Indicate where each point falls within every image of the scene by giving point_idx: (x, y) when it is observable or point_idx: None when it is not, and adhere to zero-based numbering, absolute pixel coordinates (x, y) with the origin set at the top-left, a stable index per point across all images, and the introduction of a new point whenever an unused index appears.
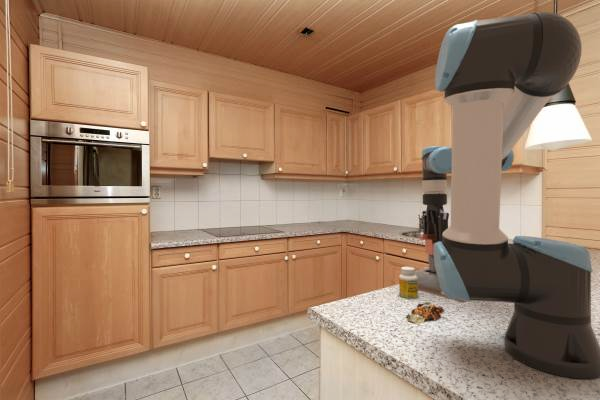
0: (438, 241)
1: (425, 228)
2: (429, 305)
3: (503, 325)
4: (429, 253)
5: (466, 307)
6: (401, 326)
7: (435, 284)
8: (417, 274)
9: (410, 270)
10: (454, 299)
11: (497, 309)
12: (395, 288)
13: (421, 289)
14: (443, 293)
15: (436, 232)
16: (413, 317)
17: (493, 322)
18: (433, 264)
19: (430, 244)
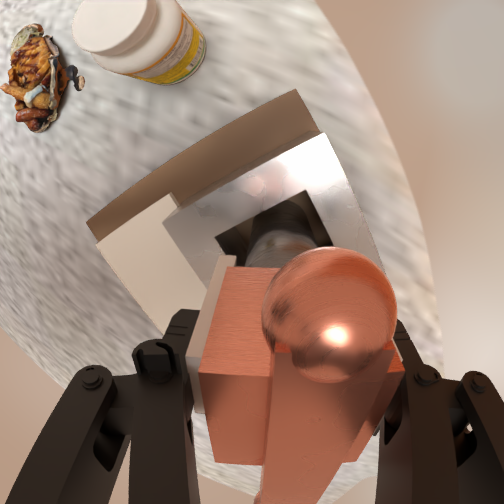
0: (139, 391)
1: (498, 474)
2: (33, 89)
3: (6, 238)
4: (277, 271)
5: (83, 222)
6: (11, 15)
7: (199, 193)
8: (295, 144)
9: (73, 24)
10: (110, 210)
11: (80, 293)
12: (320, 49)
13: (240, 136)
14: (160, 199)
15: (134, 488)
16: (14, 39)
17: (13, 228)
18: (256, 252)
19: (250, 329)
